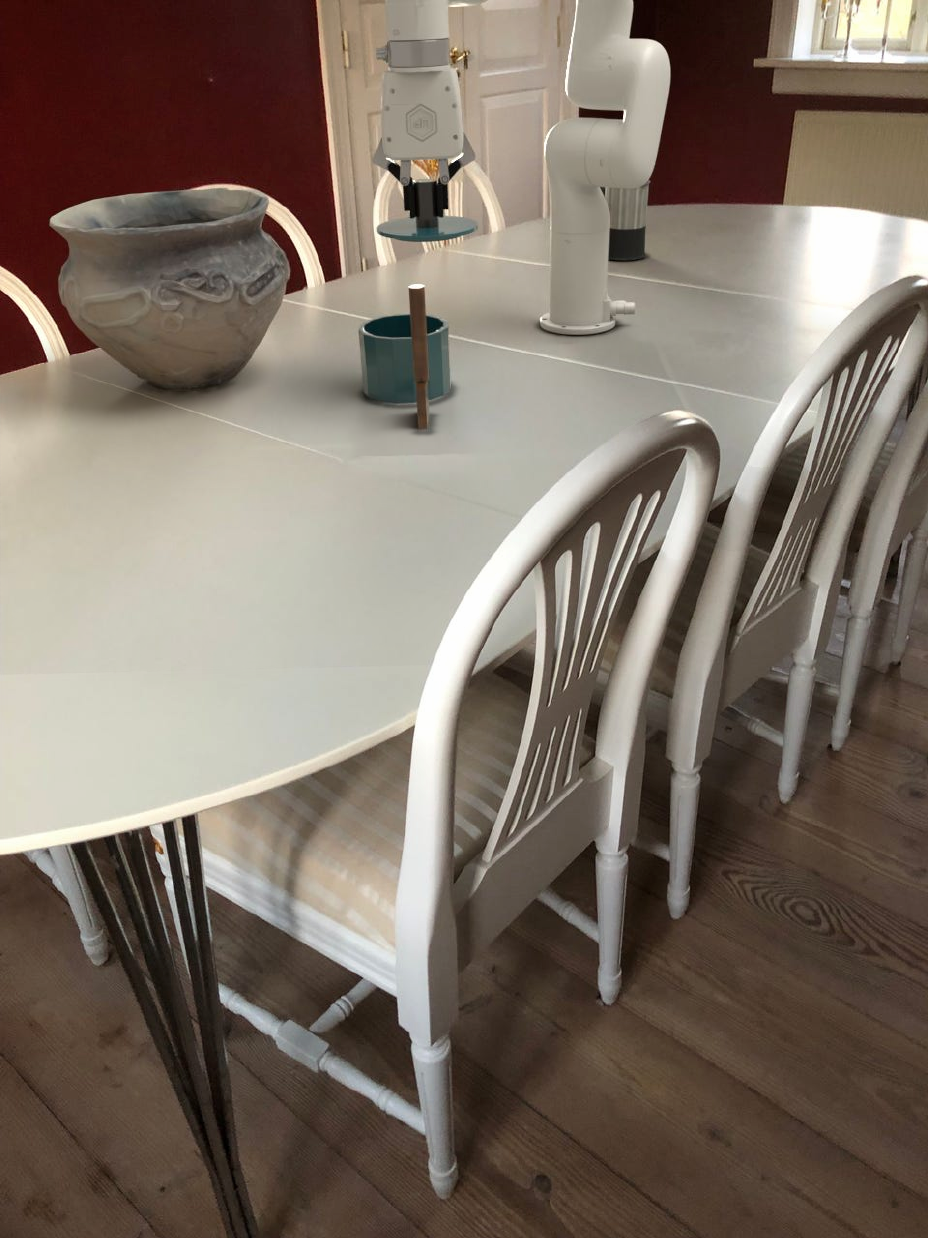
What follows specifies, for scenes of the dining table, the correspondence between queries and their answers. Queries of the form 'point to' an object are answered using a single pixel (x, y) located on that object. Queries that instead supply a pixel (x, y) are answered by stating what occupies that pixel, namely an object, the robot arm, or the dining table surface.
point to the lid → (427, 219)
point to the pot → (402, 358)
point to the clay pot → (173, 281)
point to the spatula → (420, 351)
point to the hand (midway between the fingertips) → (426, 214)
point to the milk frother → (627, 221)
